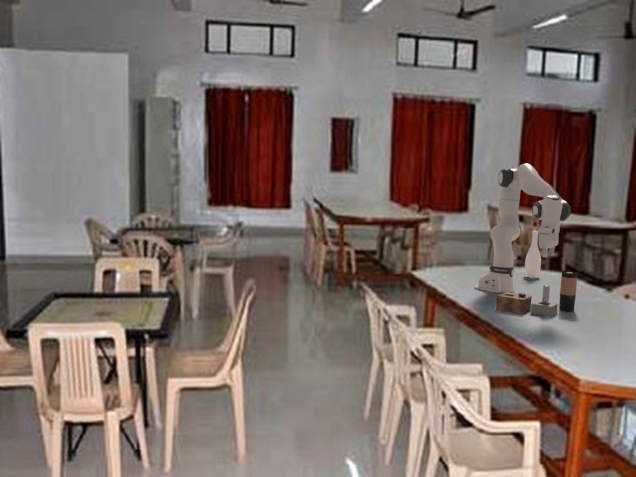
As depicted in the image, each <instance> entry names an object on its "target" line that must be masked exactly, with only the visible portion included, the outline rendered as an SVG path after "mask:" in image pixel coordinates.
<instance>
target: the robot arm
mask: <svg viewBox="0 0 636 477" xmlns="http://www.w3.org/2000/svg"><path fill="white" fill-rule="evenodd" d="M497 183H498V185H499V186H500V187H501V190H500V193H499V202H498V208H497V209H498V210H497V213H498V215H499V223H498V224H496V225H495V226H493V228H492V229H491V230H490V234H489V235H490V238H491V241H492V246H493V264H492V265H490V266H489V267H488V269H489V271H488V272H486V273H485V274H483V275H482V276H481V277H480V278H479V280H478V284H475V285H474V289H476V290H481V291H486V292H491V293H499V294H500V293H504V292H508V293H514V292H515V288H514V278H513V277H514V272H515V267H514V259H515V252H514V251H513V245H512V244H513V243H512V242H513V241H515V240H516V239H518V238H519V236H520V235H521V228H520V226H519V225H520V224H519V222H520V221H519V207H520V199H521V191H523V193H525V194H526V195H529V196H535V197H540V198H543V199H542V200H541V199H540V200H538V201H536V202H535V203H534V204H533V205H532V208H531V209H532V216H533V217H534V218H535V219H536V220H538V221H539V220H540V221H541V222H540V227H539V228H538V249H539V250H540V249H542V258H548V256H554V252H555V248H556V246H558V245H559V239H560V236H559V235H560V234H559V233H560V228H561V222H565V221H566V220H567V219H568V218H569V217H571V214H572V212H571V211H572V209H571V206H570V204H569V203H568V202H567V201H566V200H564V199H563V198H562V197H561V195H560V194H559V193H558V191H556V189H555V188H554V187H553V186H552V185H551V184H549V183H548V182H547V181H545V180H544V179H543V178H542V177H541V176H540V175H539V173H538V171H537V170H536V169H535V167H534V166H533V165H531V164H530V163H522V164H520V165H518V167H517V168H502V169H501V170H500V171H499V172H498V175H497ZM548 249H549V251H548Z"/></svg>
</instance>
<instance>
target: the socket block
mask: <svg viewBox="0 0 636 477" xmlns="http://www.w3.org/2000/svg"><path fill="white" fill-rule="evenodd" d="M518 294H519V293H514V292H501V293H499V294H497V295H496V302H495V310H498V311H505V312H511V313H518V314H525V313H527V312H529V311H531V305H532V295H527V294H526V296H525V297H524V298H520V296H518Z"/></svg>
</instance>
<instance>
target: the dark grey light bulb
mask: <svg viewBox="0 0 636 477" xmlns="http://www.w3.org/2000/svg"><path fill="white" fill-rule="evenodd" d="M517 294H518V296H520V298H524V297H525V296H526V295H527V293H525V292H518V293H517Z"/></svg>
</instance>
